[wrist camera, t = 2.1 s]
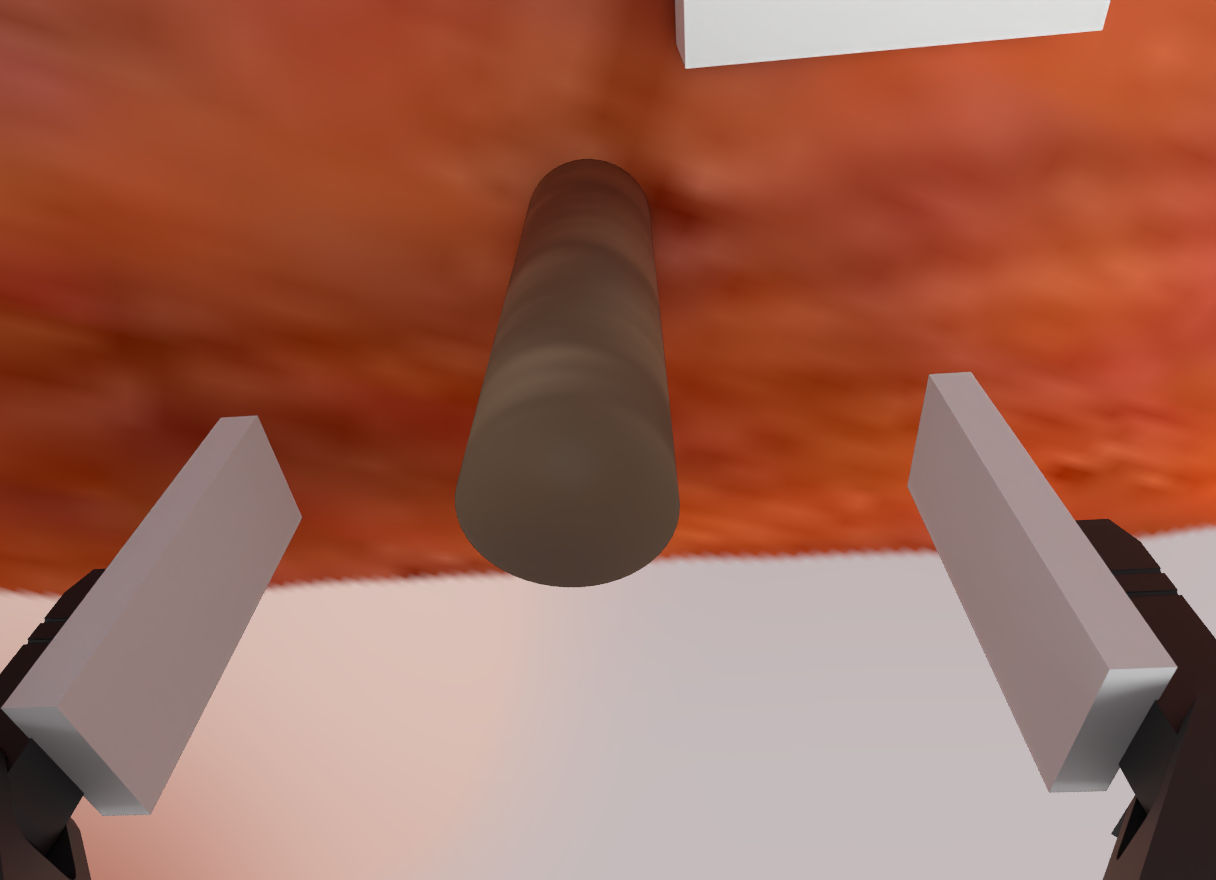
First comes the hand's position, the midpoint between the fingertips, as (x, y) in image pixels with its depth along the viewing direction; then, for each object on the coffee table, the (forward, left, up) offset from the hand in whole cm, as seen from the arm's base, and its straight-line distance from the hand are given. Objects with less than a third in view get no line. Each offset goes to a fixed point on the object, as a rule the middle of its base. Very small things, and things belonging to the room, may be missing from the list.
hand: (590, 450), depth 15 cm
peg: (0, 0, -12) cm, 12 cm away
